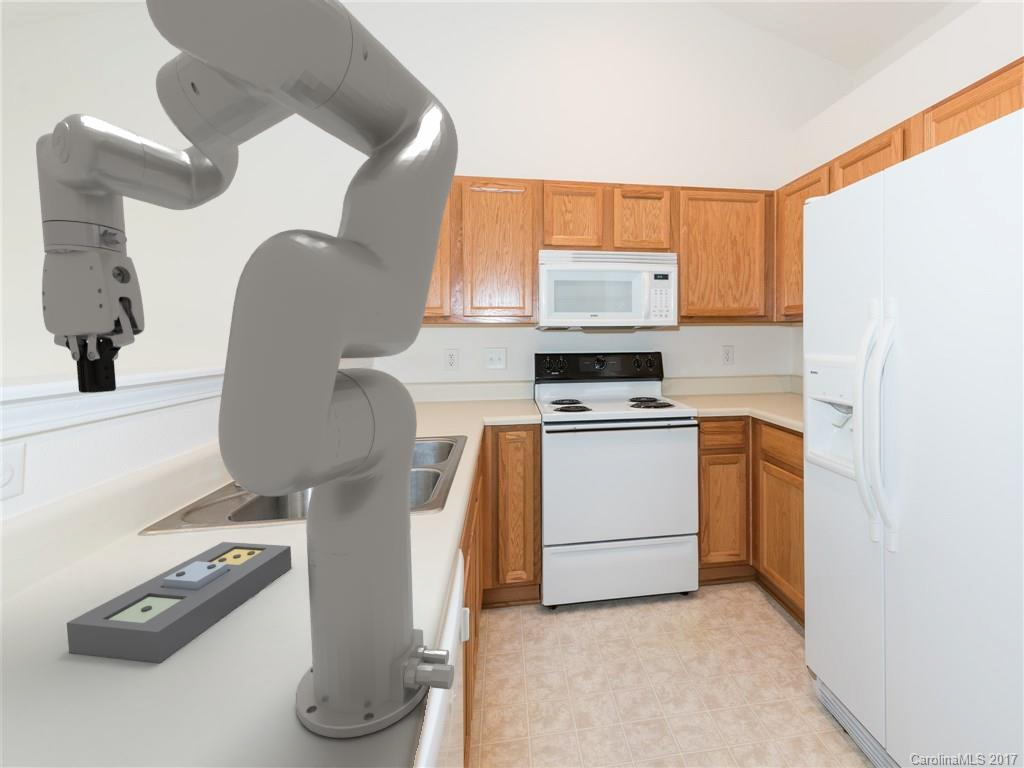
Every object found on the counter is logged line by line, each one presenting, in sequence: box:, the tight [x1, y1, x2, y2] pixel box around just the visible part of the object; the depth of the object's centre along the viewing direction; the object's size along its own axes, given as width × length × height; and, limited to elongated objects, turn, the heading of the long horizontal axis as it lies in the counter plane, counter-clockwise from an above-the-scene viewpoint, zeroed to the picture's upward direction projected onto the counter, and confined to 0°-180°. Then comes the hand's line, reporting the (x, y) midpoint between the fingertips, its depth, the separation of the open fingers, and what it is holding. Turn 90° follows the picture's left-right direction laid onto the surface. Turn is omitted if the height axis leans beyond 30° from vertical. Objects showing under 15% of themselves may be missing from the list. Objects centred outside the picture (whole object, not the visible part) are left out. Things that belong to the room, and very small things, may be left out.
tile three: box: [213, 549, 261, 565], centre depth 67 cm, size 5×5×2 cm
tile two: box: [163, 561, 228, 590], centre depth 60 cm, size 5×5×2 cm
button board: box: [66, 541, 293, 664], centre depth 60 cm, size 12×22×4 cm, turn 170°
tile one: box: [108, 597, 181, 623], centre depth 53 cm, size 5×5×2 cm
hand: (98, 391), depth 57 cm, fingers closed
